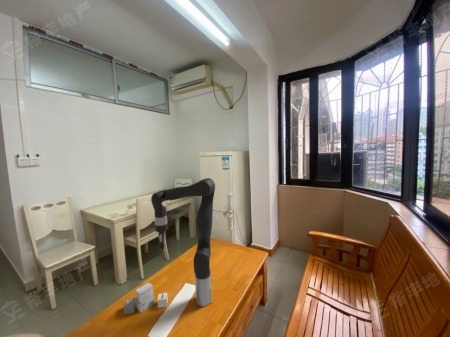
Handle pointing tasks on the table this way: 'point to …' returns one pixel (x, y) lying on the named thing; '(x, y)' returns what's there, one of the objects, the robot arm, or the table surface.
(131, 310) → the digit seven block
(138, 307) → the ink box
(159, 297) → the digit one block
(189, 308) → the table surface
